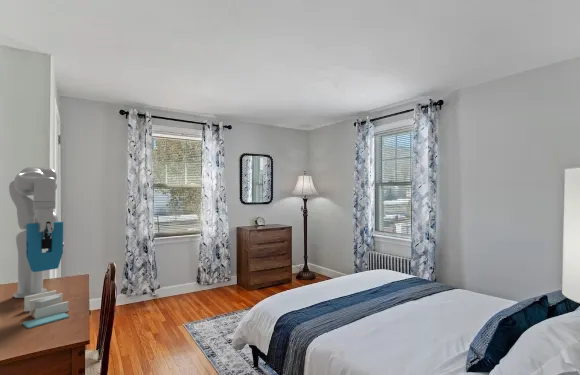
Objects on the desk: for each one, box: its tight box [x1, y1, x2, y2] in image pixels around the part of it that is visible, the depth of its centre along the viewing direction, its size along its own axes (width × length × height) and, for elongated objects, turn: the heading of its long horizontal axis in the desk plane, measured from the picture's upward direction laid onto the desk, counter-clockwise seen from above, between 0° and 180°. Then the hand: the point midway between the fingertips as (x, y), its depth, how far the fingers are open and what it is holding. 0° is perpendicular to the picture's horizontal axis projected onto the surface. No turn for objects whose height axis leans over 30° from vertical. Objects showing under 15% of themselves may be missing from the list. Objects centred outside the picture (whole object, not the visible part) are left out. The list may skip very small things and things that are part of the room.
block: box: [26, 221, 64, 272], centre depth 134 cm, size 12×5×20 cm, turn 143°
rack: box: [23, 289, 70, 319], centre depth 131 cm, size 16×11×6 cm
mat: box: [22, 312, 70, 329], centre depth 121 cm, size 7×13×1 cm, turn 143°
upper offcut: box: [34, 294, 63, 309], centre depth 128 cm, size 4×8×3 cm, turn 161°
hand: (44, 247), depth 134 cm, fingers closed on block, 5 cm apart
